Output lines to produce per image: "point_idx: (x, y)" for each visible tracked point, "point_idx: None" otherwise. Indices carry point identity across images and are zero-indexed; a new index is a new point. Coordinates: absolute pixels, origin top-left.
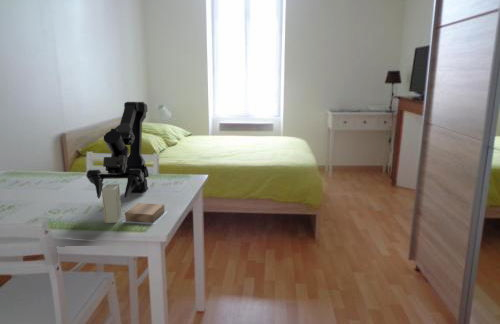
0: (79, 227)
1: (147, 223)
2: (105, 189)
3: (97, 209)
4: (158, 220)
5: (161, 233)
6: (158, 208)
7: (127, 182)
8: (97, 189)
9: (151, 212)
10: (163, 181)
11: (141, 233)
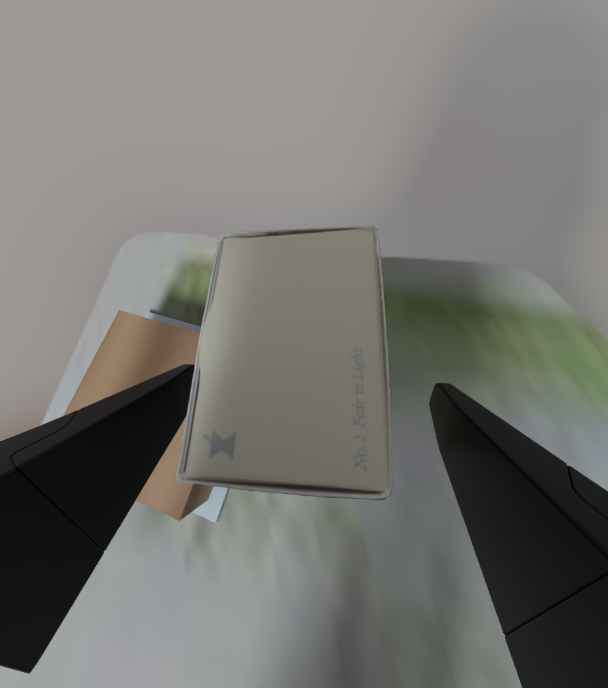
0: (457, 320)
1: (171, 320)
2: (334, 246)
3: (483, 613)
4: None
5: (134, 245)
6: (81, 390)
7: (14, 467)
8: (514, 442)
9: (120, 337)
10: None
11: (195, 249)
